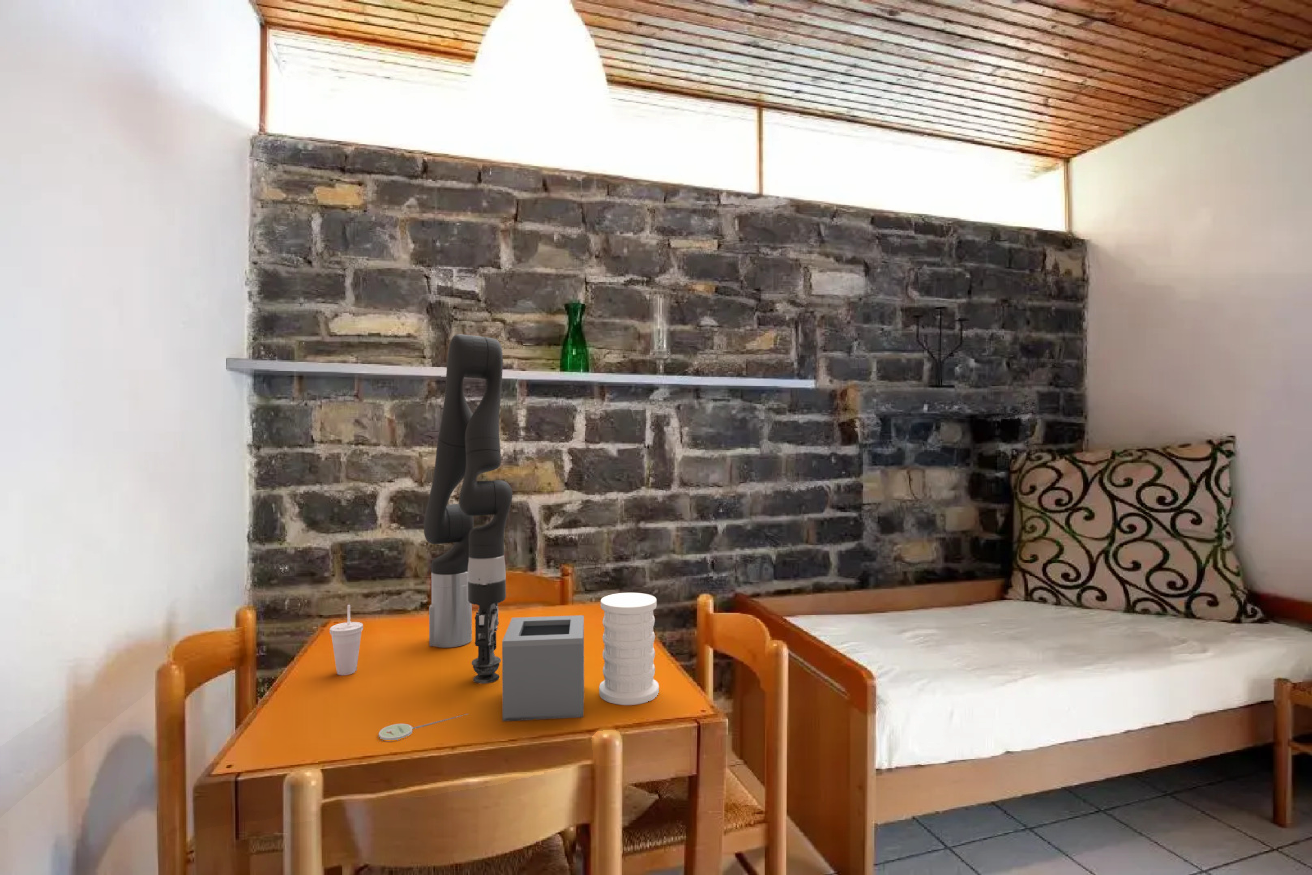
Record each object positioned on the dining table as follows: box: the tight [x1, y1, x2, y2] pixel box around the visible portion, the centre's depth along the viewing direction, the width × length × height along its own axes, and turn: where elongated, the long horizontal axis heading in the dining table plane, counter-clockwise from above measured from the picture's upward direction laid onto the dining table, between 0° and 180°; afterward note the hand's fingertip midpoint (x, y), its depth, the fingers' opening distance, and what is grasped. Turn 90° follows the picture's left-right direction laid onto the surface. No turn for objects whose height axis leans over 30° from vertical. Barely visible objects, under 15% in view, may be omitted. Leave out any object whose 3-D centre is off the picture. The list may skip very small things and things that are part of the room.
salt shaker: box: [471, 634, 502, 685], centre depth 128 cm, size 6×6×12 cm
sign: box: [378, 713, 468, 741], centre depth 107 cm, size 5×1×15 cm
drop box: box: [501, 614, 585, 722], centre depth 116 cm, size 14×14×14 cm
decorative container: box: [598, 592, 660, 706], centre depth 121 cm, size 12×12×18 cm
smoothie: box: [329, 604, 364, 676], centre depth 131 cm, size 6×6×14 cm
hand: (487, 656), depth 127 cm, fingers open, 8 cm apart
